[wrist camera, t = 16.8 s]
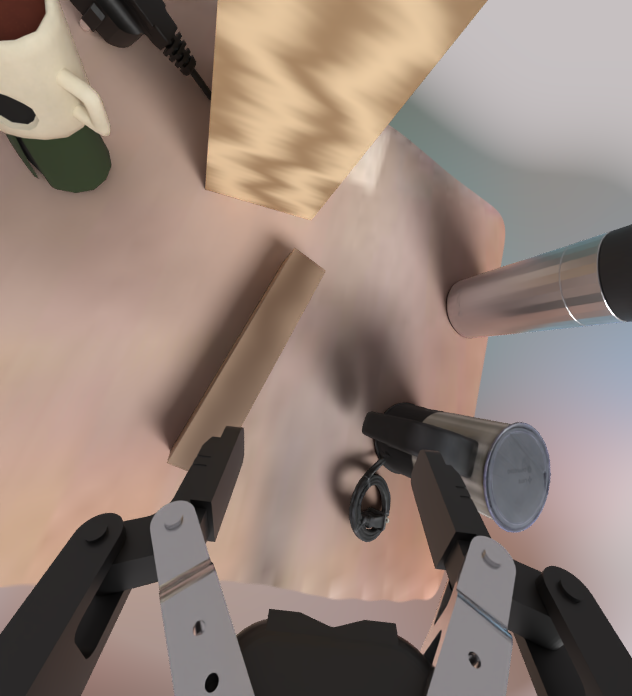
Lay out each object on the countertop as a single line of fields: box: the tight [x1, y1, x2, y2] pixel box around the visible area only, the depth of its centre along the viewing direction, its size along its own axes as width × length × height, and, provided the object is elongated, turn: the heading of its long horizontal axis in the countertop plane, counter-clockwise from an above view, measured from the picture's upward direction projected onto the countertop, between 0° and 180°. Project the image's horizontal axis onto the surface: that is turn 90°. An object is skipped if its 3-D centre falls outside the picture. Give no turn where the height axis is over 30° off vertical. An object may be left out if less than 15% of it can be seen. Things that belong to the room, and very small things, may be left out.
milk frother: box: [349, 403, 551, 542], centre depth 29 cm, size 14×16×15 cm
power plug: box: [70, 0, 212, 100], centre depth 27 cm, size 6×8×12 cm
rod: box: [167, 248, 325, 471], centre depth 28 cm, size 4×23×4 cm, turn 151°
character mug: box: [0, 0, 111, 193], centre depth 19 cm, size 11×7×13 cm, turn 62°
